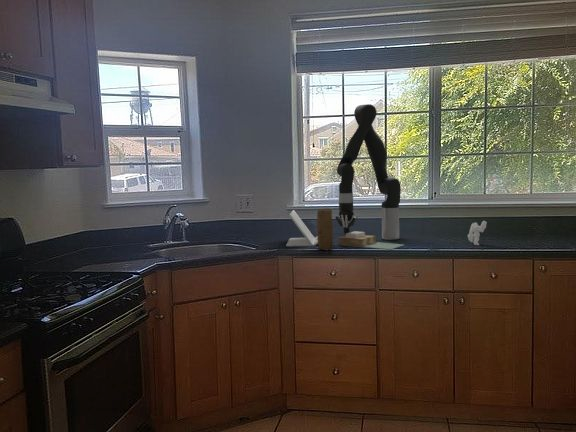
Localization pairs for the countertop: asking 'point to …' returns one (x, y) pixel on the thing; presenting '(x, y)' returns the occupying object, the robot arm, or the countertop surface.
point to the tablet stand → (308, 239)
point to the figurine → (476, 232)
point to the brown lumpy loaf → (324, 229)
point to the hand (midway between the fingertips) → (346, 234)
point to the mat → (384, 245)
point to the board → (357, 241)
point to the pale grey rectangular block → (355, 234)
